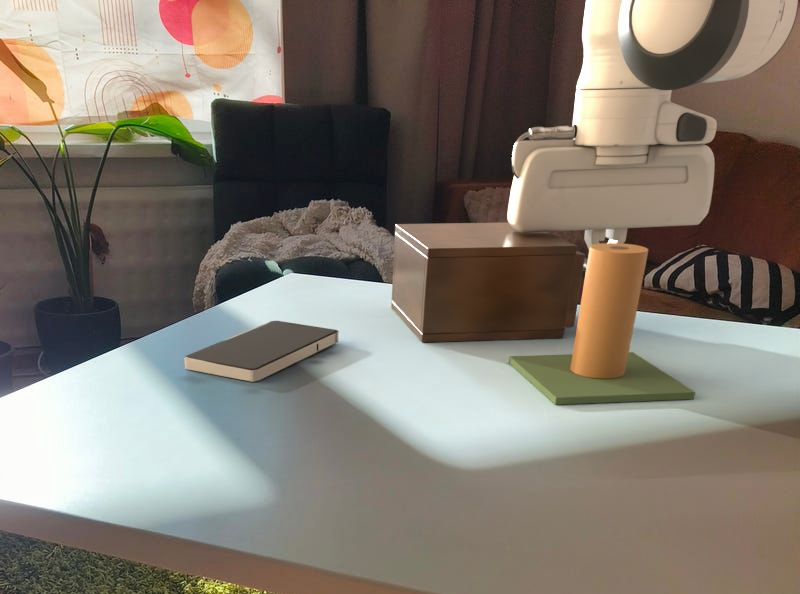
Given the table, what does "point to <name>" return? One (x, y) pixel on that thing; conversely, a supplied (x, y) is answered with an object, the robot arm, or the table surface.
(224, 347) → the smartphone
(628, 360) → the mat
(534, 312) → the cabinet
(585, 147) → the robot arm
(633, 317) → the paper roll
